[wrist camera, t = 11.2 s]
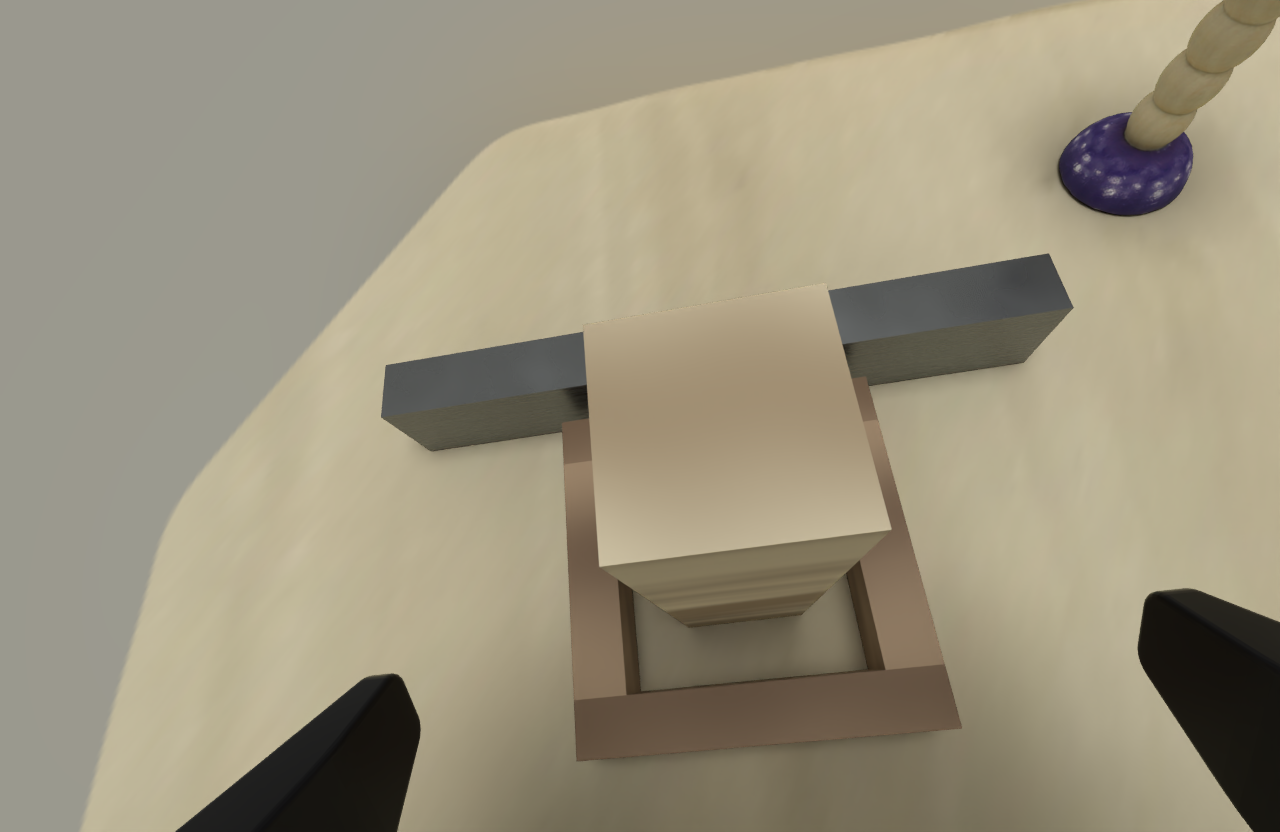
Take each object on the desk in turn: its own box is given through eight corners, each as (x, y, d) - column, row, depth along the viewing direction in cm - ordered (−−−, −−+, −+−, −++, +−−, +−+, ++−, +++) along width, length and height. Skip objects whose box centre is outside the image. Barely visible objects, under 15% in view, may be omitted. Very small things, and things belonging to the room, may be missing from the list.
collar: (933, 719, 17) (962, 728, 15) (597, 749, 18) (576, 761, 16) (853, 407, 21) (866, 376, 19) (580, 447, 22) (562, 422, 20)
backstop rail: (1023, 362, 21) (1073, 307, 18) (431, 451, 23) (381, 417, 20) (1004, 313, 22) (1048, 253, 19) (433, 404, 24) (385, 365, 21)
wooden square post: (801, 614, 19) (891, 529, 7) (689, 627, 19) (598, 566, 8) (779, 504, 20) (826, 282, 9) (675, 518, 21) (582, 325, 9)
